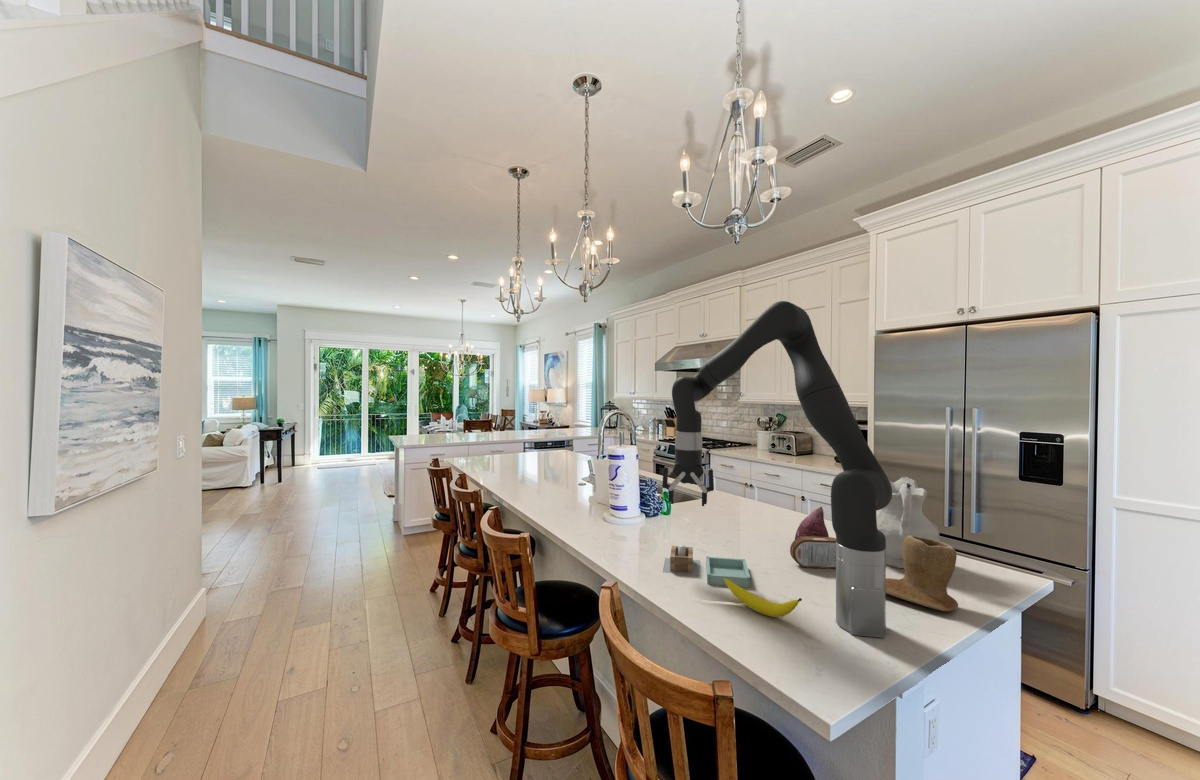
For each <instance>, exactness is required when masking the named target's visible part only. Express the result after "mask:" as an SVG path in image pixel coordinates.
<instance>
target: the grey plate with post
mask: <svg viewBox="0 0 1200 780" xmlns="http://www.w3.org/2000/svg"><path fill="white" fill-rule="evenodd" d="M686 547H687V546H686V545H684V544H679V545H678V556H685V552H686ZM662 567H663V569H662V573H669V574H681V575H692V576H701V560H699V559H693V573H686V572H673V571H670V557H665V558H664V562H663V566H662Z"/></svg>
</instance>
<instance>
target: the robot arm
mask: <svg viewBox="0 0 1200 780" xmlns="http://www.w3.org/2000/svg"><path fill="white" fill-rule="evenodd" d="M776 340H777V341H779V342H780V343H781V344H782V346H783V348H784V349H785V352H786V354H787V356H788V357H789V359H790V362H791V365H792V369H793V373H794V385H795V391H796V395H797V398H798V401H799V403H800V406H801V408H802V410H803V413H804V415H805V417H806V419H807V420H808V422H809V423H810V424H809V425H811V426H812V427H813V429H814V430H815V431H816V432H817V434H818V435H820V437H821V438H822V439H823V440H824V441H825V442H826V443H827V444H828V445H829V446H830V448H831V449H832V450H833V451H834V453H835V454H836V456H837V459H838V461H839V463H840V466H841V468H842V471H841V472H840V473H838V474H836V476H835V477H834V479H833V481H832V484H831V487H830V508H831V509H830V510H831V524H832V528H833V531H834V533H835V538H836V569H835V622H836V624H837V625H838V626H839V627H840V628H842V629H843V630H845V631H847V632H849V633H850V634H851V635H853V636H862V637H863V636H865V637H872V638H882V639H884V638H885V634H886V631H887V630H886V628H887V625H886V622H887V621H886V620H887V619H886V618H887V616H886V615H887V611H886V608H887V607H886V604H887V603H886V601H887V600H886V599H887V597H886V596H887V595H886V578H887V577H886V576H887V575H886V572H887V571H886V565H887V564H886V538H885V535H884V534H883V533H882V532H881V531H879V530H878V529H877V519H876V511H877V510H880V509H883V508H884V507H886V506H887V505H888V504H889V503H890V501H891V498H892V487H891V484H890V481H891V480H890V479H889V477H888V475H887V474H886V472H885V471H884V469H883V468H882V466H881V464H880V463H879V461H878V459H877V458H876V455H875V454H874V453H873V452H872V450H871V448H870V447H869V445H868V442H867V441H866V439H865V437H864V434H863V432H862V431H861V430H862V429H861V427H860V426H859V423H858V421H857V420H856V418H855V416H854V414H853V411H852V409H851V407H850V405H849V403H848V399H847V397H846V395H845V394H844V391H843V389H842V387H841V385H840V383H839V382H838V380H837V378H836V375H835V374H834V372H833V370H832V368H831V366H830V365H829V363H828V361H827V359H826V357H825V356H824V354H823V352H822V350H821V347H820V345H819V342H818V338H817V335H816V332H815V330H814V326H813V324H812V321H811V319H810V316H809V315H808V313H807V311H805V309H803V308H802V307H800V306H798V305H796V304H795V303H792V302H790V301H786V300H781V301H780V300H779V301H776V302H774V303H772V304H770V305H769V306H768V307H767V308H766V309H765V310H764V311H763V312H762V313H761V314H760V315H759V316H757V318H756V319H755V320H754V321H753V322H752V323H750V324H749V325H748V327H746V329H745V330H743V332H741V333H740V334H739V335H738V336H737V337H736V338H735V339H734V340H733V341H731V342H730V343H729V344H727V345H726V346H725V347H724V348H723V349H721V350H720V351H719V352H717V353H716V354H715V355H713V356H712V357H710V359H708V360H707V361H705V362H703V364H702V365H701V366H700V368H699V371H698V373H696V374H695V375H693V376H680V377H677V378H676V379H675V381H674V382H673V383H672V388H671V399H672V403H673V409H674V411H675V412H674V413H675V418H676V424H675V425H676V429H675V430H676V431H675V438H674V441H675V442H674V467H672V466H671V467H670V466H668V465H664V468H663V471H662V487H661V488H663V489H665V490H667V491H668V502H670V504H671V505H674V503H675V489H676V487H677V485H678V484H679V483H681V484H691V485H693V484H696V485H697V487H699V489H701V506H702V507H705V505H707V503H708V493H710V492H713V491H715V490H714V489H715V484H714V469H713V468H711V467H710V468H707V469H705V468H703V436H702V415H701V412H700V411H697V410H696V404H695V402H698V401H700V400H702V399H705V397H707V396H708V395H710V393H711V392H712V391H713V390H715V389H716V387H717V386H718V385H720V384H722V383H723V382H724V381H726V380H728V379H729V378H731V377H732V376H733V375H735V374H736V373H737V372H738V371H740V369H742V367H743V366H744V365H745V364H746V362H747V361H748V360H749V359H750V358H751V356H752V355H753V354H755V352H757V351H758V350H760V349H761V348H763V347H764V346H766V345H768V344H769V343H772V342H774V341H776ZM672 472H673V474H674V475H675V478H674V480H673V481H672V482H671V483H670V484H669V483H668V482H669V481H668V478H669V476H670V475H671V473H672ZM703 474H705V476H706V478H708V486H706V485H705V484H704V482H703V480H702V479H701V477H702V475H703ZM889 480H890V481H889Z"/></svg>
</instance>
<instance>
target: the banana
mask: <svg viewBox="0 0 1200 780" xmlns="http://www.w3.org/2000/svg"><path fill="white" fill-rule="evenodd" d="M724 580H725V583H726V585H725V586H727V589H729V590H730V591H731V593H732V595H733V596H735V597H736V599H738V600H739V601H740V602H742V603H743V604H744V605H746V606H747V607H749V608H750V609H752V610H753V611H756V613H757V612H758V613H760V614H762V615H764V616H768V617H771V618H772V617H773V618H782V617H783V618H784V617H785V616H787V615H789V614H790V613H792V612H793V611H794V610H795V609H796V607H797V606H798V605H799V603H800V602H801V601H802V598H801V597H800V598H799V599H792V600H788V601H786V602H781V603H777V602H773V601H770V600H767V599H764V598H762V597H760V596H758V595H756V594H754V593H752V592H750V591H748V590H747V589H745V588H744V587H740V586H738V585H736V584H735V583H733V582H732V581H730V580H728V579H726V578H724Z"/></svg>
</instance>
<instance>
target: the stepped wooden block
mask: <svg viewBox="0 0 1200 780" xmlns="http://www.w3.org/2000/svg"><path fill="white" fill-rule="evenodd" d="M678 546H679V545H678ZM678 546H677V545H671V549H670V556H669V558H670V571H673V572H686V573H693V560H694V558H693V557H694V548H693V546H686V552H685V556H678Z"/></svg>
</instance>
